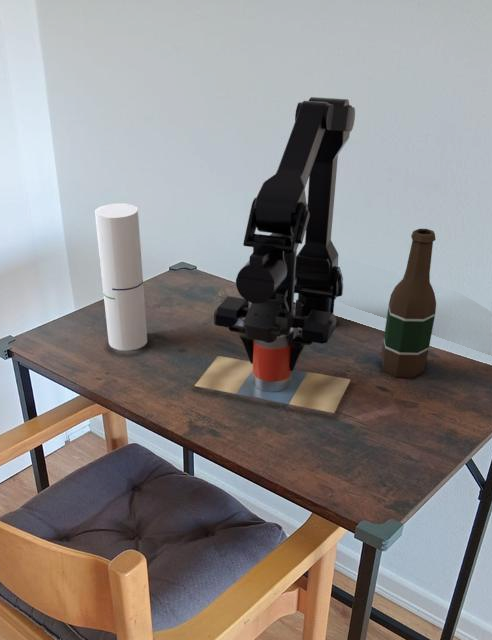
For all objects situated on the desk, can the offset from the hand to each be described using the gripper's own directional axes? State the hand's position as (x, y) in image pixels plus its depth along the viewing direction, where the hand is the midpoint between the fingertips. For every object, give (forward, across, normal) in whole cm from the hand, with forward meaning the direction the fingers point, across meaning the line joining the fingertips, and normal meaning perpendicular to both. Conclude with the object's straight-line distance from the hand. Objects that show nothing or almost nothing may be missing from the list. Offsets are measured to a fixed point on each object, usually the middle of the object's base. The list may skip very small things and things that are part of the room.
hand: (272, 366), depth 124 cm
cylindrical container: (+4, -30, +5) cm, 30 cm away
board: (+4, 0, 0) cm, 4 cm away
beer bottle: (+4, +19, +14) cm, 24 cm away
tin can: (+3, 0, 0) cm, 3 cm away
